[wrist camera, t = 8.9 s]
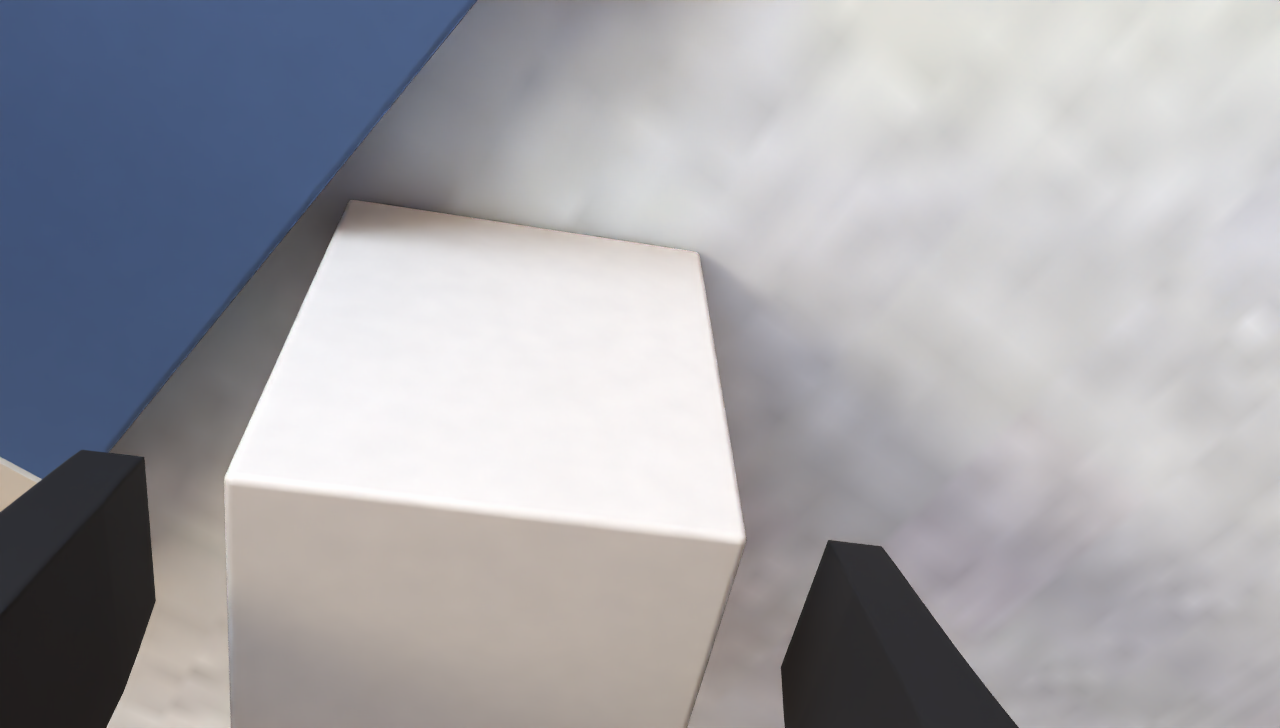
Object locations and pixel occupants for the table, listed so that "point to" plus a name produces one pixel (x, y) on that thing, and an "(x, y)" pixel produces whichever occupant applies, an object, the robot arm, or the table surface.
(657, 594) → the white block
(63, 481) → the robot arm
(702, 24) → the table surface
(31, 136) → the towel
